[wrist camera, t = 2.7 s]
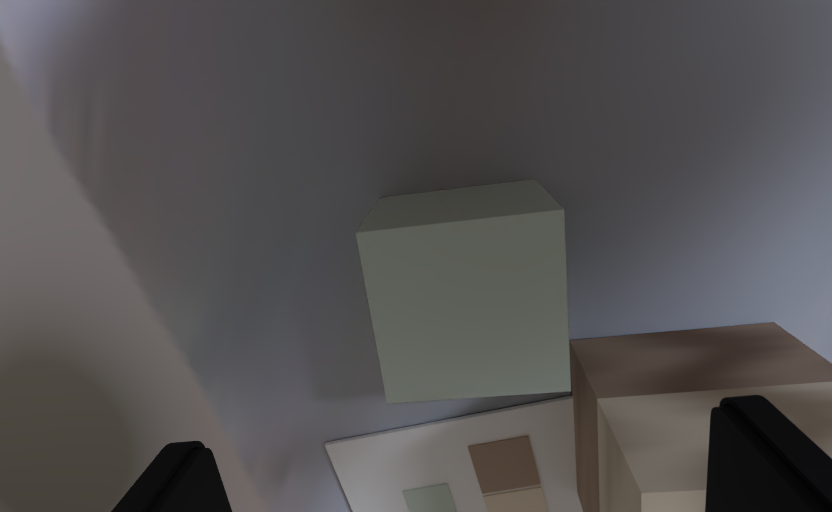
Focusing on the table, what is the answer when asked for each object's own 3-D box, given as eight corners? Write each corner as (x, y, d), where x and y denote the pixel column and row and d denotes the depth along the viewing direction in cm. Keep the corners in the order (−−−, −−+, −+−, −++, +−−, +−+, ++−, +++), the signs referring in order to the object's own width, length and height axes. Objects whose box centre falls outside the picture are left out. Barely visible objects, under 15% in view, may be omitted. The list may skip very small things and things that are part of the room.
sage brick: (535, 178, 18) (564, 209, 13) (542, 319, 20) (570, 391, 15) (380, 197, 18) (355, 232, 14) (402, 332, 20) (387, 403, 16)
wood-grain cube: (773, 322, 19) (987, 475, 11) (756, 479, 21) (921, 690, 14) (569, 340, 20) (641, 492, 12) (576, 488, 22) (638, 691, 15)
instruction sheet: (579, 394, 21) (581, 398, 20) (610, 544, 23) (612, 549, 23) (325, 442, 22) (324, 446, 22) (381, 575, 25) (381, 581, 25)
